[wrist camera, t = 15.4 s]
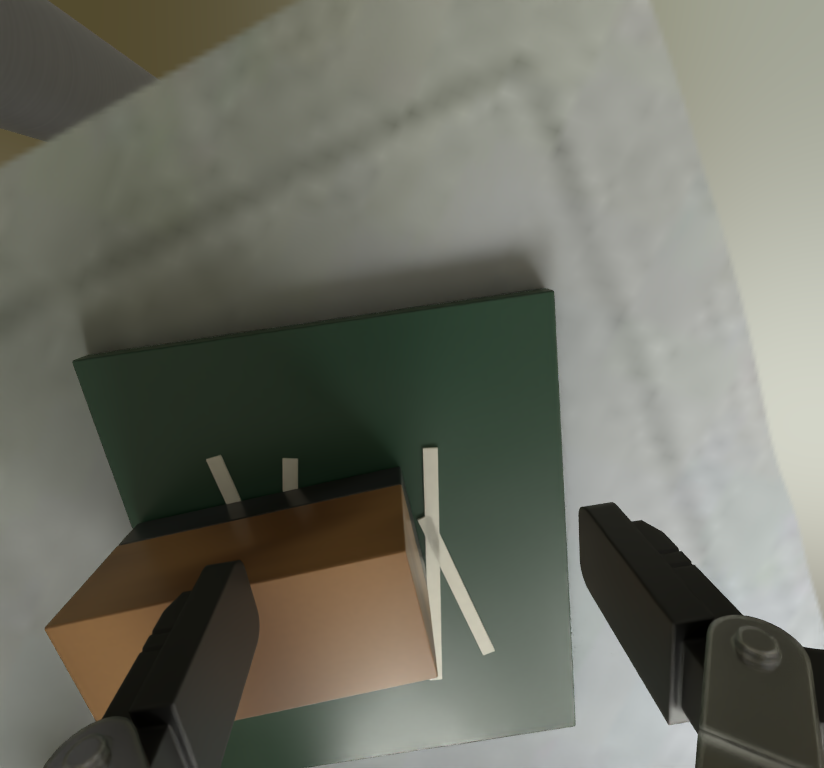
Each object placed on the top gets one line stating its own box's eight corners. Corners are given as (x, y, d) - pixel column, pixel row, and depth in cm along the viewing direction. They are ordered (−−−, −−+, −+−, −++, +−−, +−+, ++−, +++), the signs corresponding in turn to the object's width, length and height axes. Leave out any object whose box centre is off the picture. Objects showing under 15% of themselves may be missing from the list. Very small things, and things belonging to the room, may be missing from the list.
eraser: (400, 465, 19) (405, 550, 14) (425, 566, 20) (438, 678, 15) (137, 522, 19) (42, 628, 14) (180, 619, 21) (109, 748, 15)
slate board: (87, 354, 18) (68, 361, 17) (546, 287, 18) (555, 290, 17) (229, 760, 25) (222, 783, 24) (568, 708, 25) (577, 728, 24)
